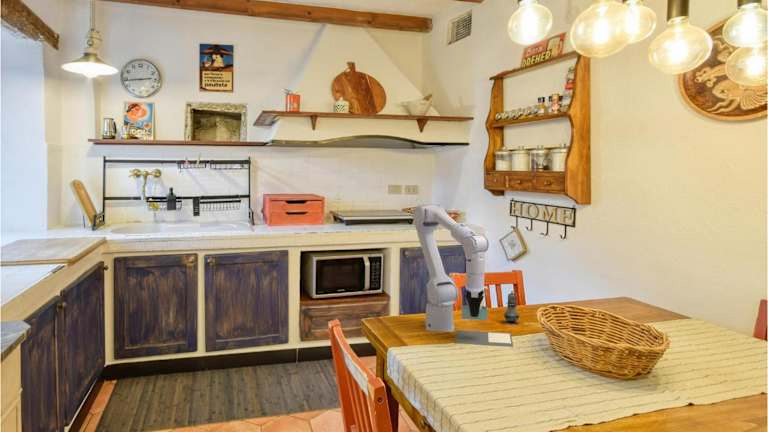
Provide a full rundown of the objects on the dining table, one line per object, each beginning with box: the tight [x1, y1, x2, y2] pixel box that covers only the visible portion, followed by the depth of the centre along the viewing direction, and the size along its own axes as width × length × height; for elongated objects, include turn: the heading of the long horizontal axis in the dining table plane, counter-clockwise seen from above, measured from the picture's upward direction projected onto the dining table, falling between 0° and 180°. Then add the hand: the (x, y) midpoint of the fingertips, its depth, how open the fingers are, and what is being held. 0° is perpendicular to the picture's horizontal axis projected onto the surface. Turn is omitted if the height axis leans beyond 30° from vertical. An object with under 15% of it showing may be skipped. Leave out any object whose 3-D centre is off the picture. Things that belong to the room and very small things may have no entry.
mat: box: [454, 329, 514, 348], centre depth 161 cm, size 18×14×1 cm
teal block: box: [461, 305, 489, 321], centre depth 159 cm, size 8×4×4 cm, turn 79°
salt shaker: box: [502, 290, 521, 326], centre depth 179 cm, size 6×6×12 cm
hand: (474, 314), depth 159 cm, fingers closed on teal block, 4 cm apart
